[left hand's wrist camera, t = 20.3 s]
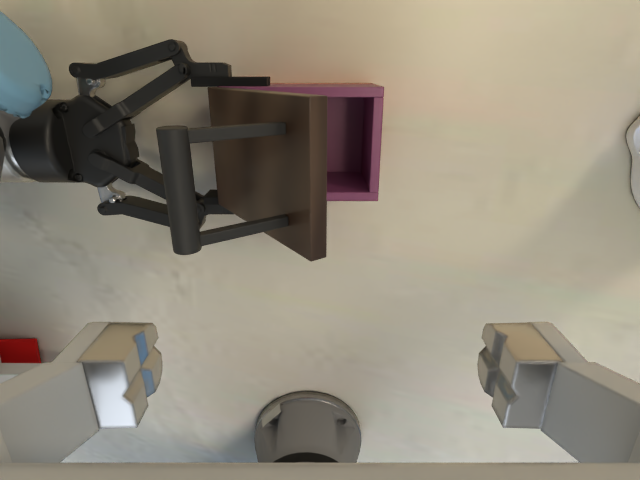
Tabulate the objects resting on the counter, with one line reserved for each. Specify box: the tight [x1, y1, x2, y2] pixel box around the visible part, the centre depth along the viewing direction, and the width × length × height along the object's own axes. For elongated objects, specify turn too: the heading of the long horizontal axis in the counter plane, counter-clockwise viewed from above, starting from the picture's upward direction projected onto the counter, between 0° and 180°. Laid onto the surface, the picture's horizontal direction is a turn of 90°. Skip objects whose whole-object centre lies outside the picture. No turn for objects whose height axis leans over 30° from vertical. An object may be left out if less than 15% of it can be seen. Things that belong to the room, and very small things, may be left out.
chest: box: [219, 83, 384, 201], centre depth 41 cm, size 14×10×9 cm
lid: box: [156, 87, 327, 261], centre depth 29 cm, size 15×10×9 cm
